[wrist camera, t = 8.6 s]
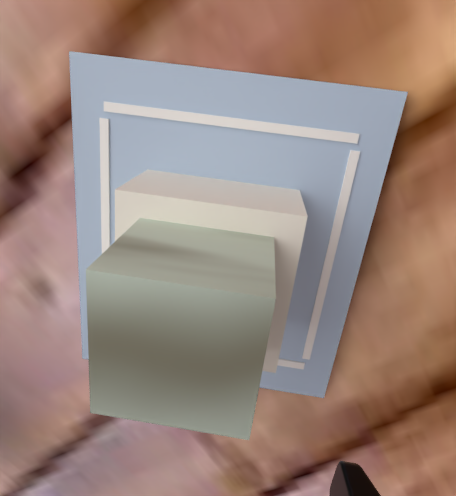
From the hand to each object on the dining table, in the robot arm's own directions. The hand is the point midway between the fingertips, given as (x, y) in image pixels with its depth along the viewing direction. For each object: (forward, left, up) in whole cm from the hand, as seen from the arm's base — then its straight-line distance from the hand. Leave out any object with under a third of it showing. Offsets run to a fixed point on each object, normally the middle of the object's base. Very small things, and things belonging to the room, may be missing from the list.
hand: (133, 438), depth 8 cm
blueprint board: (0, 0, -12) cm, 12 cm away
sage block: (0, 0, -7) cm, 7 cm away
